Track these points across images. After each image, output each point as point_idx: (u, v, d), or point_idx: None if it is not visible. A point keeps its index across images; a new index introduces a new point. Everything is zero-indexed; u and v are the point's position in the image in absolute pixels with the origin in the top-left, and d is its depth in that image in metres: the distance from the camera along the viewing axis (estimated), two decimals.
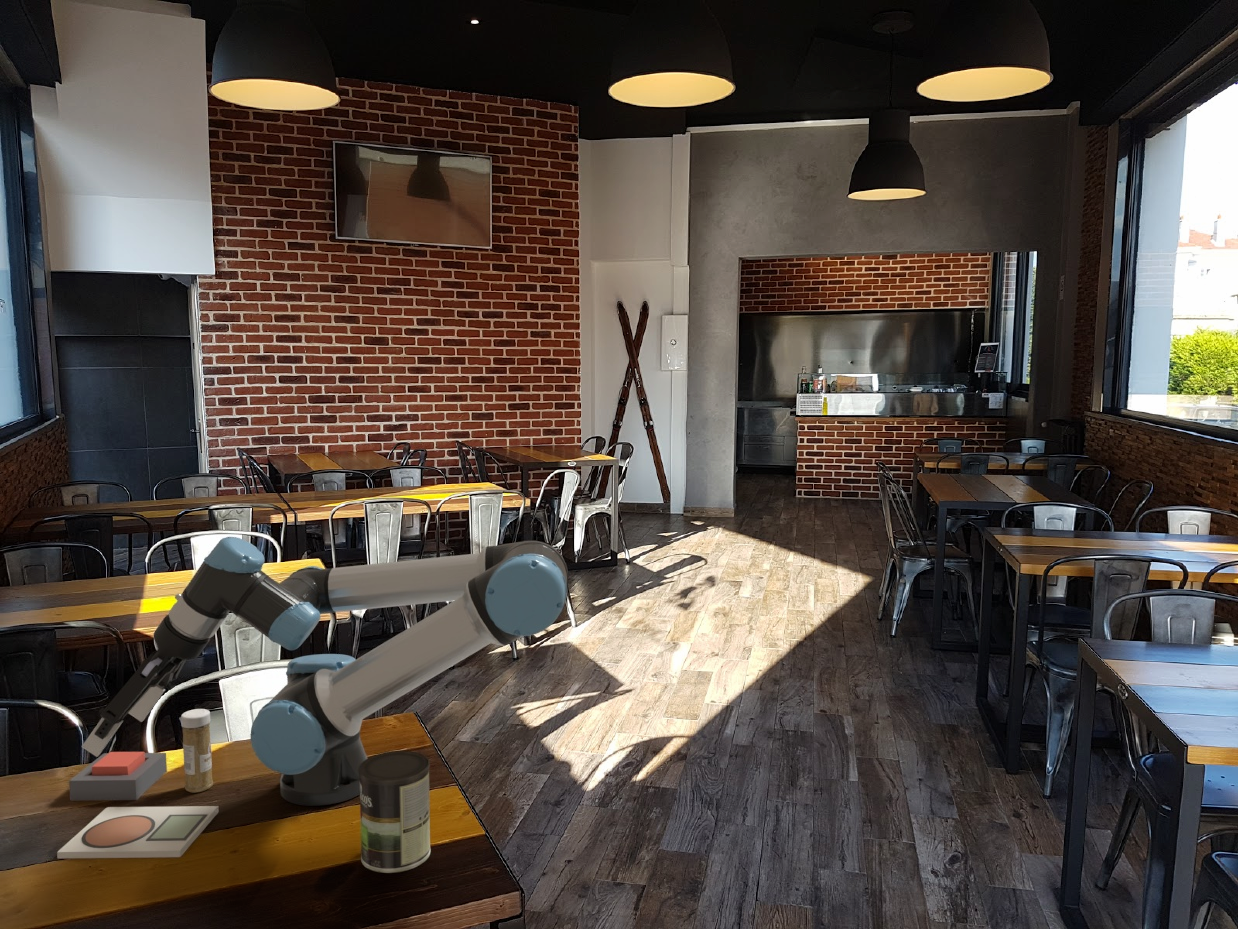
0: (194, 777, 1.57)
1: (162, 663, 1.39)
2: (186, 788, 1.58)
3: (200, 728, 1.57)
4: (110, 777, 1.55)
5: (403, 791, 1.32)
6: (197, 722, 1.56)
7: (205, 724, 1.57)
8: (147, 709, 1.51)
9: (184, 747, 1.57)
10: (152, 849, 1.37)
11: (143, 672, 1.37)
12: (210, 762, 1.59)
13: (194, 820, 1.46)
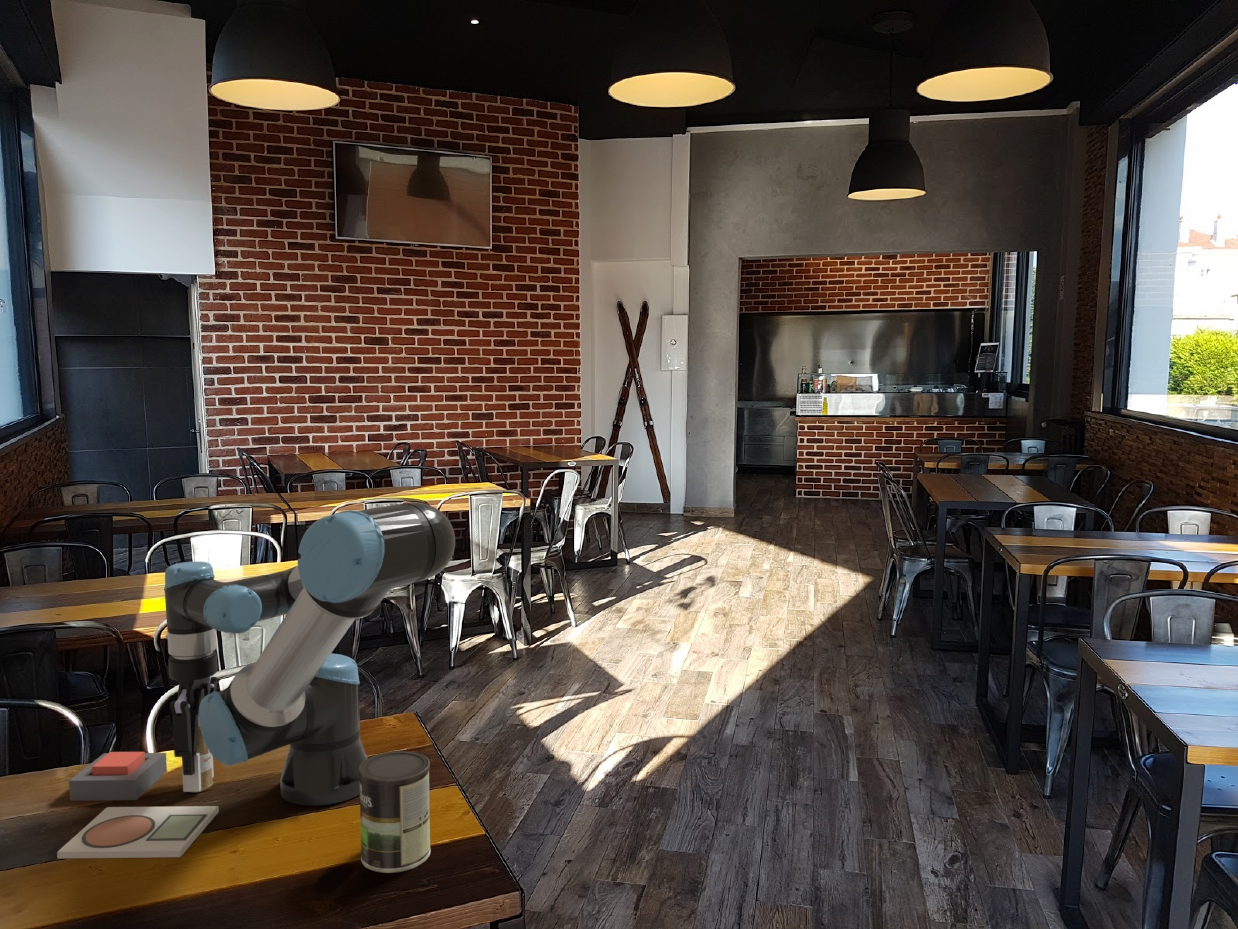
0: None
1: (187, 694, 1.53)
2: None
3: None
4: (110, 777, 1.55)
5: (403, 791, 1.32)
6: None
7: None
8: None
9: None
10: (152, 849, 1.37)
11: (177, 712, 1.52)
12: (210, 761, 1.59)
13: (194, 820, 1.46)
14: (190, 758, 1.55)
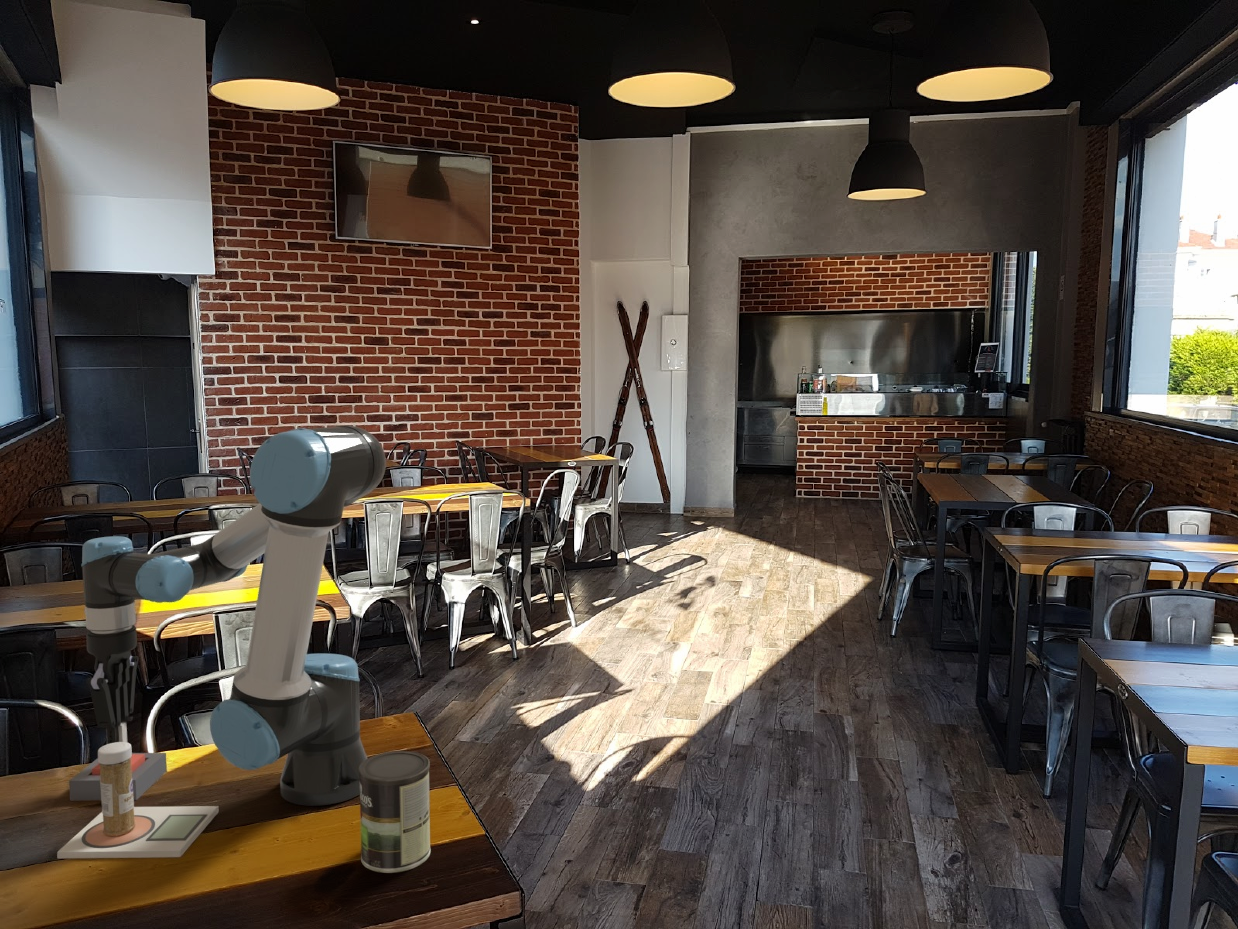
0: (113, 820, 1.40)
1: (104, 669, 1.54)
2: (104, 831, 1.41)
3: (119, 764, 1.40)
4: None
5: (403, 791, 1.32)
6: (115, 757, 1.39)
7: (125, 760, 1.40)
8: None
9: (101, 785, 1.40)
10: (152, 849, 1.37)
11: (94, 688, 1.53)
12: (131, 801, 1.42)
13: (194, 820, 1.46)
14: (114, 728, 1.57)
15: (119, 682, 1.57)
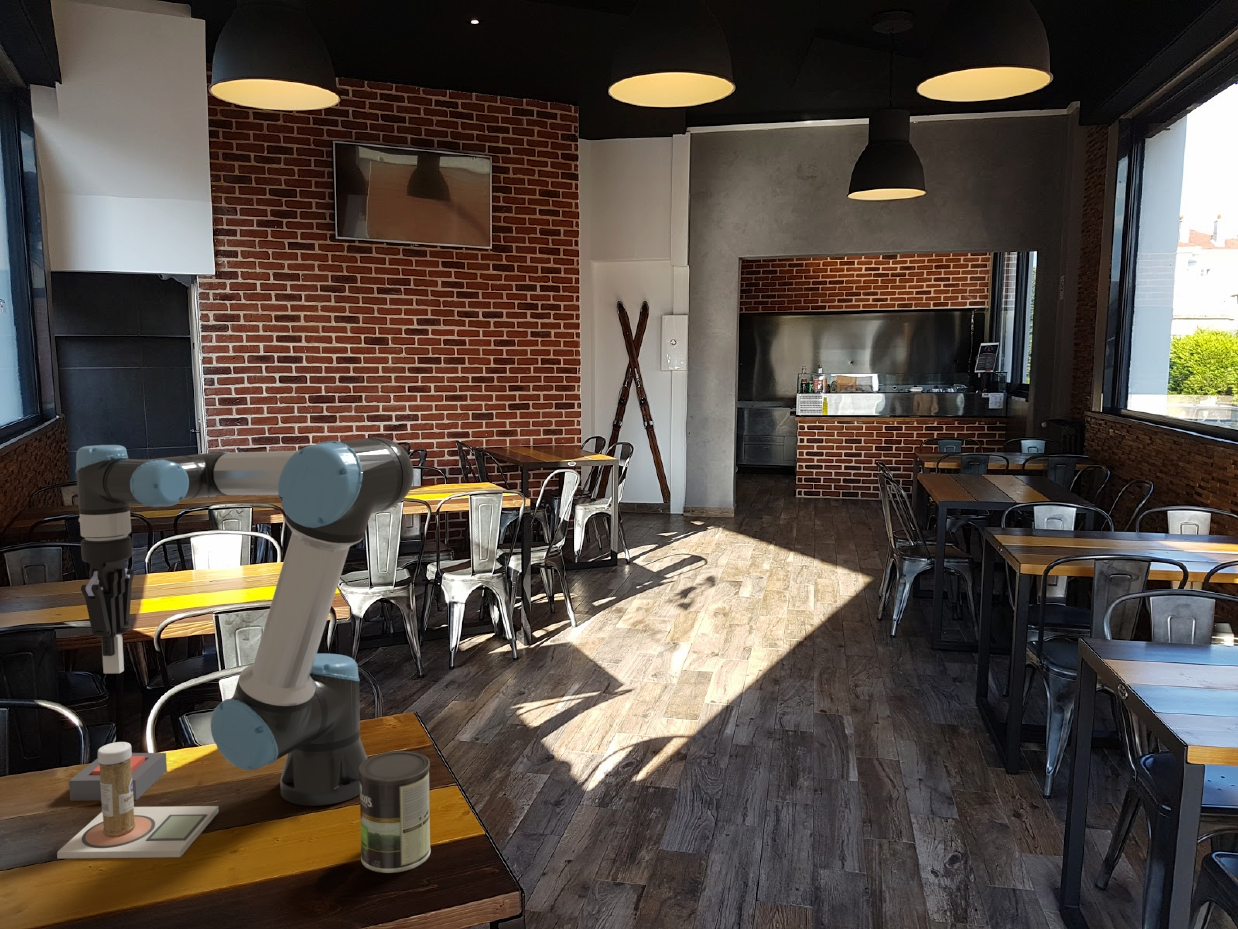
0: (113, 820, 1.40)
1: (99, 576, 1.52)
2: (104, 831, 1.41)
3: (119, 764, 1.40)
4: None
5: (403, 791, 1.32)
6: (115, 757, 1.39)
7: (125, 760, 1.40)
8: None
9: (101, 786, 1.40)
10: (152, 849, 1.37)
11: (89, 595, 1.51)
12: (131, 801, 1.42)
13: (194, 820, 1.46)
14: (109, 638, 1.55)
15: (114, 591, 1.55)
